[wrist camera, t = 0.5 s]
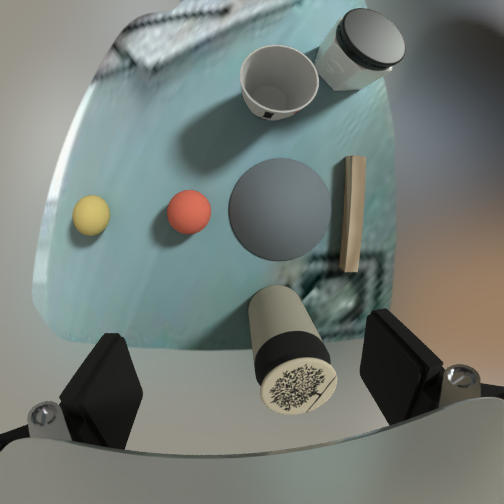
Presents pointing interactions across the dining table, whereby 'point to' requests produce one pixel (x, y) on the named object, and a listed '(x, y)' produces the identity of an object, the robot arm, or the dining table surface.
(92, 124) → the dining table surface
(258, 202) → the slate mark
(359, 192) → the wooden stick
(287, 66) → the cup
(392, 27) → the jar
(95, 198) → the ochre ball
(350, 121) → the dining table surface
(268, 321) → the travel mug
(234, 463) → the robot arm
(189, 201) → the red ball
